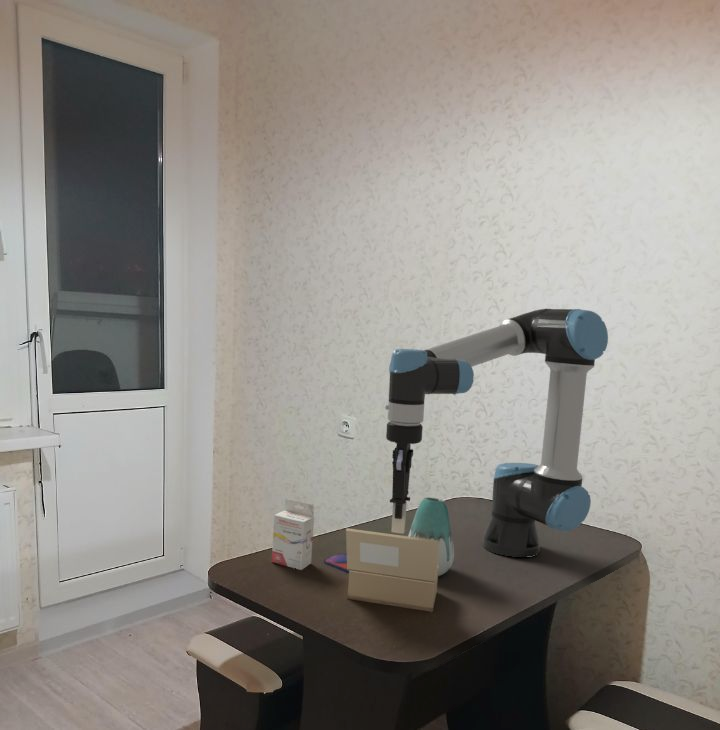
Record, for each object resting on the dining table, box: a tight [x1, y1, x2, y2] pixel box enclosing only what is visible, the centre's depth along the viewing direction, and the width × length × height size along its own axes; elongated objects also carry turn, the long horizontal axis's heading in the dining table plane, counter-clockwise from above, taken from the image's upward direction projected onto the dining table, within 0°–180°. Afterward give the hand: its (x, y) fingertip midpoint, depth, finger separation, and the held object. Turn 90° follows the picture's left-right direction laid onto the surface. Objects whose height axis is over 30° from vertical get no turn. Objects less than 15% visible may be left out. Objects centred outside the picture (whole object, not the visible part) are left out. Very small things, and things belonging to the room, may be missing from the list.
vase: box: [407, 497, 455, 577], centre depth 151 cm, size 12×12×18 cm
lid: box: [345, 527, 439, 584], centre depth 129 cm, size 19×11×1 cm
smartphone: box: [323, 553, 349, 574], centre depth 151 cm, size 7×15×1 cm, turn 50°
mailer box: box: [347, 566, 439, 613], centre depth 137 cm, size 18×10×6 cm, turn 78°
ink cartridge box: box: [271, 498, 315, 571], centre depth 150 cm, size 9×5×15 cm, turn 65°
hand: (398, 531), depth 135 cm, fingers closed
